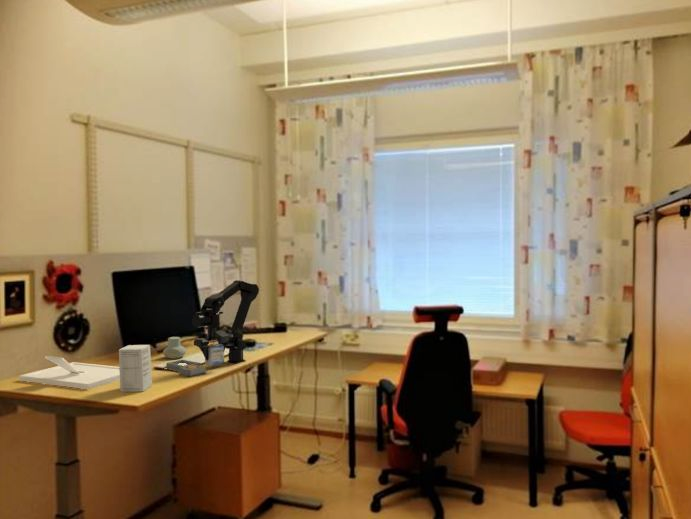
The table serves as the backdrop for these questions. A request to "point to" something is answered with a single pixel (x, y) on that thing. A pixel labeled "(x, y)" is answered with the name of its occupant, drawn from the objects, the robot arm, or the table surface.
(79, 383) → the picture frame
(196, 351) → the table surface
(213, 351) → the medicine box
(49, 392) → the table surface
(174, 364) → the grey square tray
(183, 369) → the button housing
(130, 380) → the supplement box
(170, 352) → the air freshener
